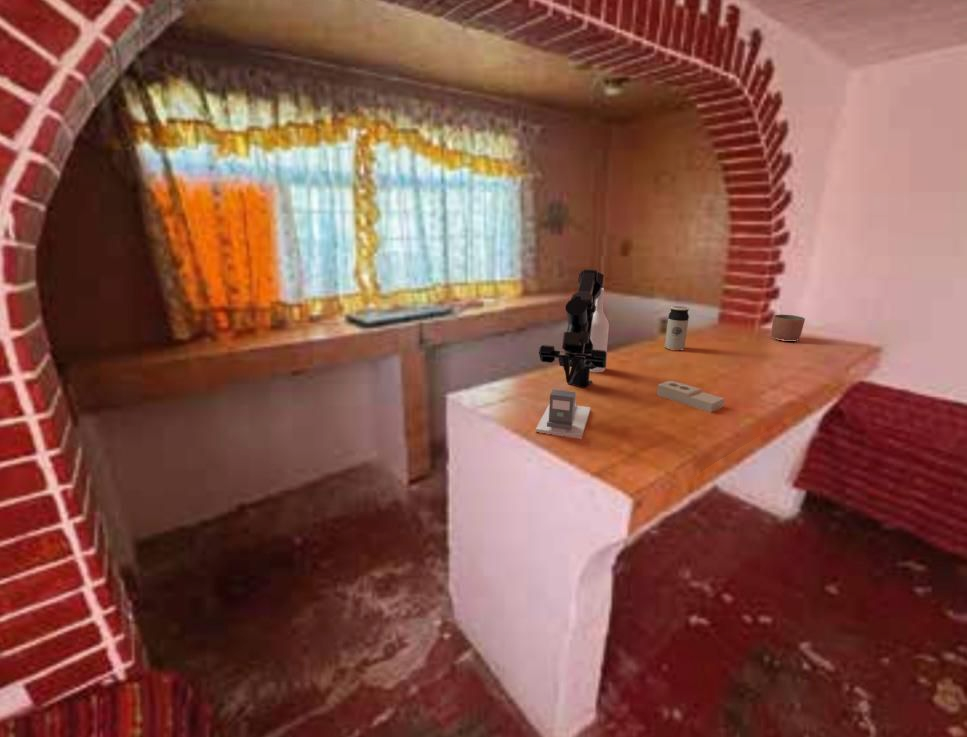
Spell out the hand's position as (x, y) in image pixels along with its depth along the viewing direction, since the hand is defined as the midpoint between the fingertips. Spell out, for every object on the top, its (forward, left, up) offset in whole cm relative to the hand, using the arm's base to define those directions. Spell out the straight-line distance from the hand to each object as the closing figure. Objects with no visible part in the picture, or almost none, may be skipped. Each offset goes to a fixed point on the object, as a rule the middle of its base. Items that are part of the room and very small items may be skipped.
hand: (568, 382), depth 134 cm
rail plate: (+2, +1, -10) cm, 11 cm away
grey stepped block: (-34, +26, -11) cm, 44 cm away
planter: (-141, +47, -11) cm, 149 cm away
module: (+8, +2, -8) cm, 12 cm away
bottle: (-47, -10, -11) cm, 50 cm away
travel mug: (-95, +8, -11) cm, 96 cm away
